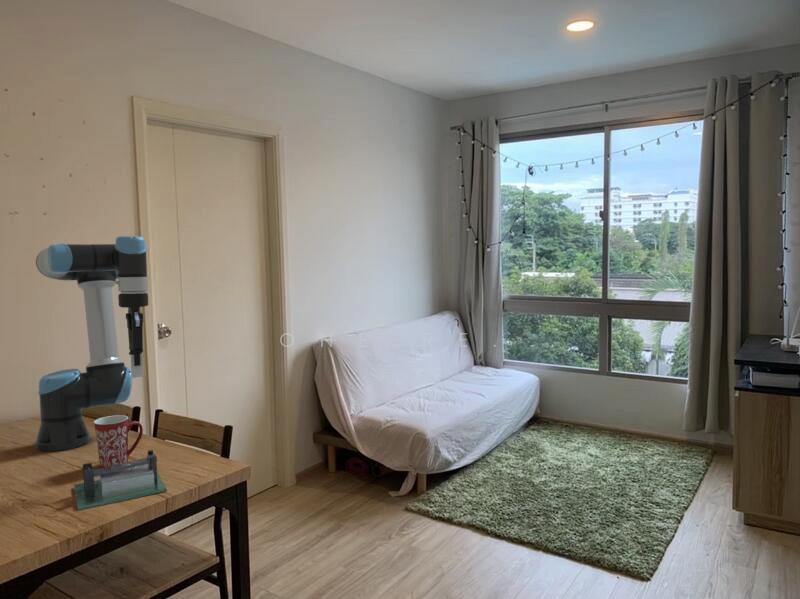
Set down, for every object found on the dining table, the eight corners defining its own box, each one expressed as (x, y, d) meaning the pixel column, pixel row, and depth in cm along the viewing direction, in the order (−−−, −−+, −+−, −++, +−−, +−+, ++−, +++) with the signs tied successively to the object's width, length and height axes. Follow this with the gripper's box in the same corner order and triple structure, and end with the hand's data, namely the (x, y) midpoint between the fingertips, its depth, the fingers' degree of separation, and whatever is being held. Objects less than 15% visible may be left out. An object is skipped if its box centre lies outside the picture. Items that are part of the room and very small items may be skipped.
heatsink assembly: (77, 509, 141) (76, 477, 141) (74, 487, 155) (72, 457, 154) (166, 491, 152) (165, 460, 151) (156, 472, 165) (154, 443, 165)
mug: (96, 473, 165) (93, 425, 164) (95, 463, 173) (93, 417, 172) (145, 465, 171) (143, 419, 170) (142, 455, 179) (140, 411, 178)
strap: (86, 479, 148) (85, 473, 148) (85, 476, 150) (84, 469, 150) (157, 462, 156) (156, 456, 156) (155, 459, 159) (154, 453, 159)
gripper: (115, 291, 168) (119, 374, 170) (121, 294, 157) (125, 382, 159) (144, 290, 172) (147, 371, 174) (151, 293, 161) (155, 379, 162)
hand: (137, 376), depth 166 cm, fingers closed
